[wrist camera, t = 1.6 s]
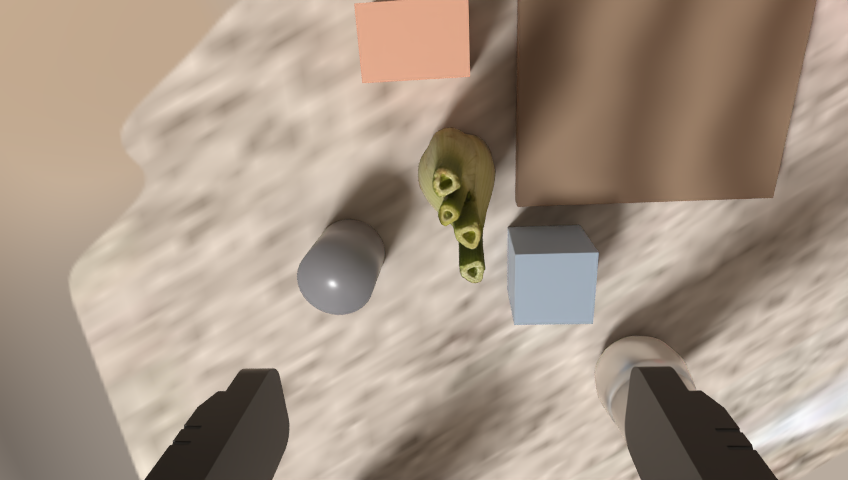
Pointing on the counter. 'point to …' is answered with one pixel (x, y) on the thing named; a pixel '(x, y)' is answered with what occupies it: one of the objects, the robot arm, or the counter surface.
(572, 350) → the counter surface
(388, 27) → the terracotta block
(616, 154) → the walnut board
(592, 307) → the smoky blue cube
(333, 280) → the grey rounded capsule
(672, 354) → the plastic bottle
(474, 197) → the fennel bulb
